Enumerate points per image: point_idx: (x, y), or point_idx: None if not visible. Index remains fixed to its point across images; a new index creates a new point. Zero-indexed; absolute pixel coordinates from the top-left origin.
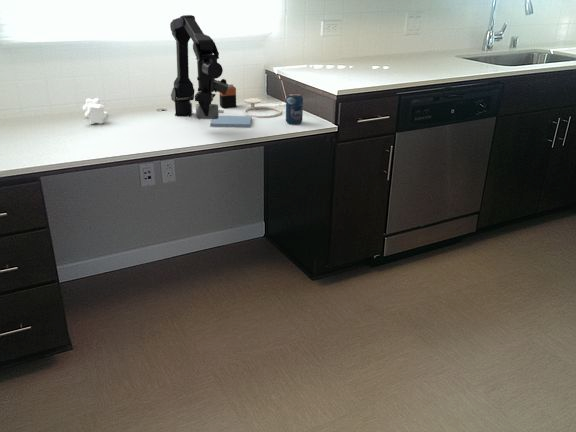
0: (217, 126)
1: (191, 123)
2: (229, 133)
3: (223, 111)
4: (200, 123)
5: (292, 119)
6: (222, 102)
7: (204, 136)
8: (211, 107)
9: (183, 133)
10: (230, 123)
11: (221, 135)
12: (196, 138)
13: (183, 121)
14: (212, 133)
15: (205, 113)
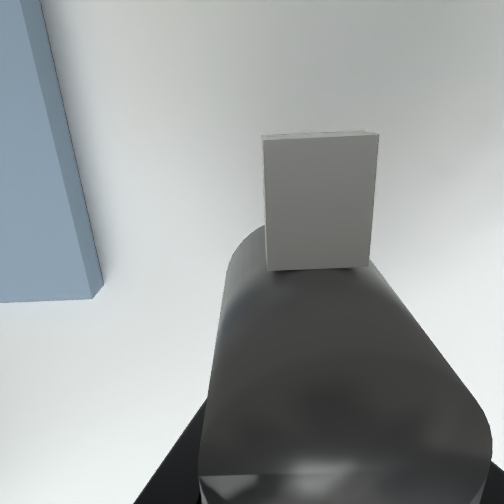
0: (87, 220)
1: (53, 432)
2: (327, 41)
3: (321, 135)
4: (28, 375)
5: None
6: None
7: (428, 283)
8: (467, 465)
9: None
10: (10, 70)
11: (404, 127)
12: (481, 333)
13: (19, 484)
14: None
15: None
